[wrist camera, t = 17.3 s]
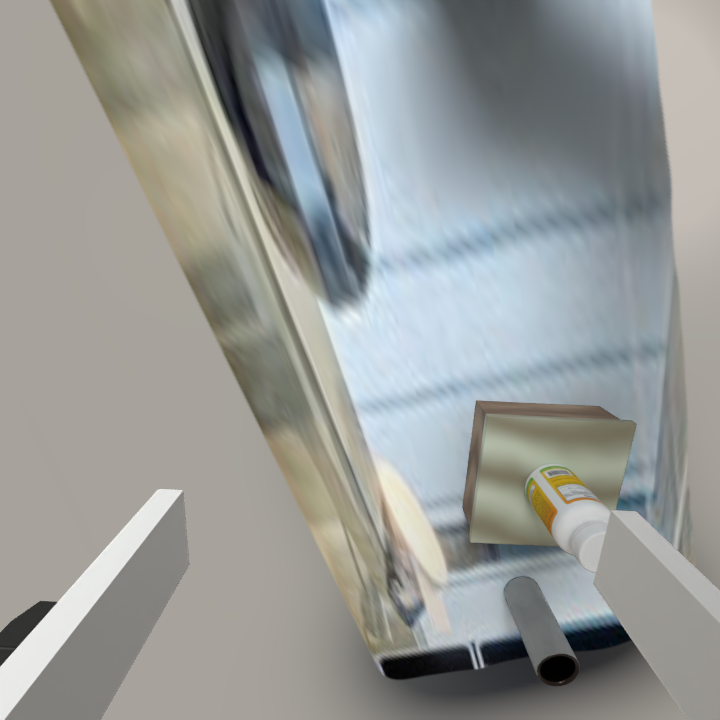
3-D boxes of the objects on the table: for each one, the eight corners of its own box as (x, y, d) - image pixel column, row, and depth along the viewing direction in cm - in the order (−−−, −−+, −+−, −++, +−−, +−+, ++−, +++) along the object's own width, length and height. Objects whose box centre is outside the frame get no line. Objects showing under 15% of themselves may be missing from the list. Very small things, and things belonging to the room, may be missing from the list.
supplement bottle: (546, 517, 42) (598, 592, 32) (512, 486, 41) (556, 554, 32) (586, 484, 41) (652, 552, 31) (552, 452, 40) (610, 512, 31)
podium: (473, 397, 44) (487, 416, 39) (603, 403, 44) (636, 423, 39) (458, 510, 48) (470, 542, 43) (579, 515, 48) (606, 548, 43)
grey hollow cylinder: (535, 605, 52) (575, 688, 42) (501, 603, 52) (533, 685, 42) (541, 577, 51) (584, 655, 41) (506, 574, 51) (540, 653, 41)
